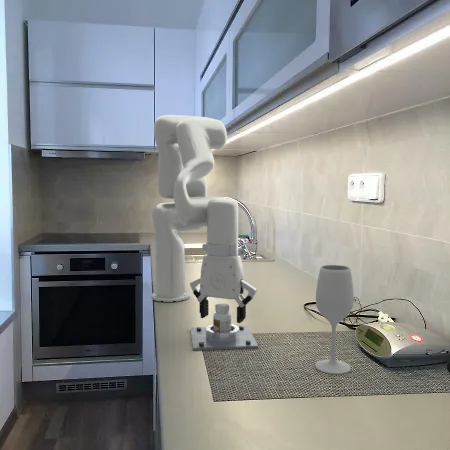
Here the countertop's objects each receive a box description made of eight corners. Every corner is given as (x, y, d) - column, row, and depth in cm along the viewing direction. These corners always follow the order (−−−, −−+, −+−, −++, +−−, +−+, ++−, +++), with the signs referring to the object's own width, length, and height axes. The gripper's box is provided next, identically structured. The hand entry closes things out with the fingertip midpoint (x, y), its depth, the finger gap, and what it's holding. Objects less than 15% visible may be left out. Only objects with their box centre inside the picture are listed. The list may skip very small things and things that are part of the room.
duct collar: (205, 331, 117) (205, 323, 117) (236, 330, 118) (236, 322, 118) (207, 342, 109) (207, 334, 109) (241, 341, 110) (241, 332, 110)
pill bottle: (210, 334, 115) (210, 303, 115) (227, 332, 117) (227, 302, 116) (216, 339, 111) (216, 308, 111) (233, 337, 113) (233, 306, 112)
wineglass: (345, 360, 100) (348, 264, 98) (356, 374, 93) (359, 271, 91) (310, 360, 100) (312, 264, 98) (319, 374, 92) (321, 271, 91)
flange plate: (190, 329, 121) (190, 325, 120) (247, 328, 122) (247, 324, 122) (193, 350, 106) (193, 346, 106) (258, 348, 107) (258, 343, 107)
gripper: (183, 249, 112) (183, 318, 114) (250, 254, 105) (249, 328, 107) (197, 245, 119) (197, 311, 121) (261, 250, 112) (260, 319, 114)
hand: (222, 319), depth 114 cm, fingers open, 9 cm apart
